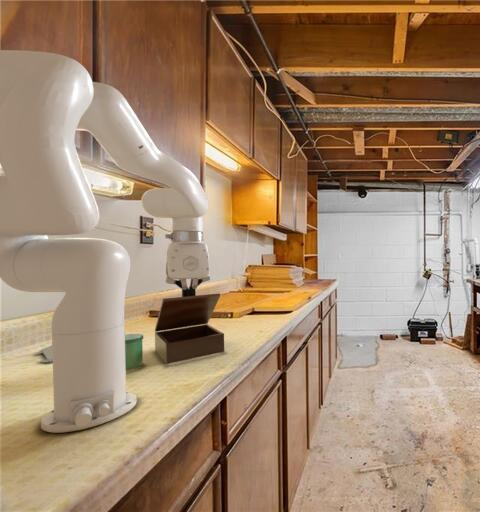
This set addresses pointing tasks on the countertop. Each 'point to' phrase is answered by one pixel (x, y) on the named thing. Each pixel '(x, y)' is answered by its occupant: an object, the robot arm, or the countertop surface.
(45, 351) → the metal bracket
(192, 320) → the bin lid
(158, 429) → the countertop surface
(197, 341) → the bin
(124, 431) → the countertop surface
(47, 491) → the countertop surface
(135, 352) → the pot
